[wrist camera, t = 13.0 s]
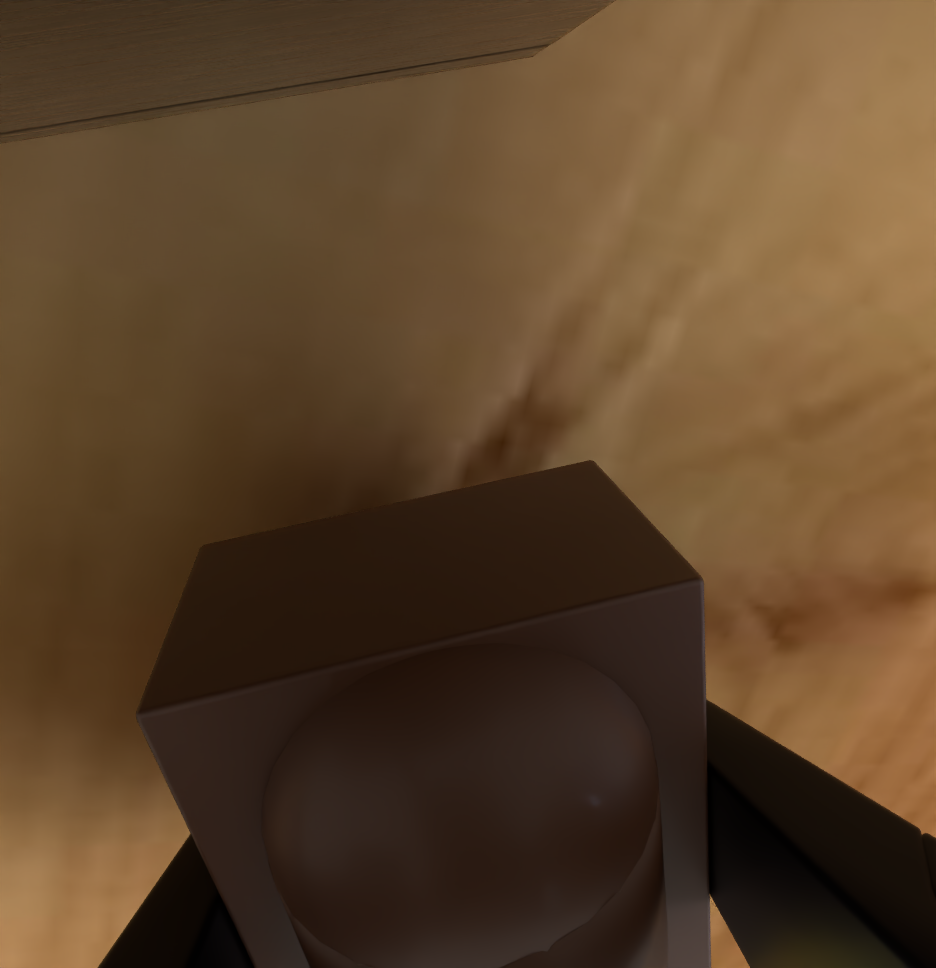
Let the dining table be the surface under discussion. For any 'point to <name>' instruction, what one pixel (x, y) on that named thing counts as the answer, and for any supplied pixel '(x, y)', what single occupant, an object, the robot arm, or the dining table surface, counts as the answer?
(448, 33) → the cabinet
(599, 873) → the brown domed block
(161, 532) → the dining table surface
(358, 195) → the dining table surface
